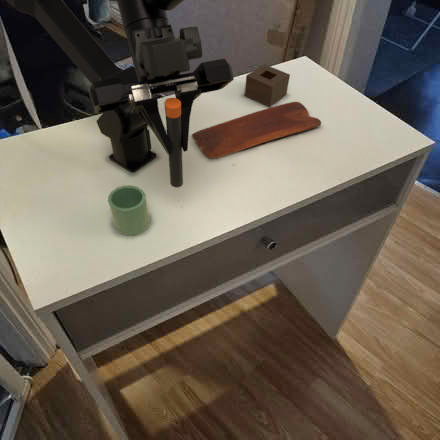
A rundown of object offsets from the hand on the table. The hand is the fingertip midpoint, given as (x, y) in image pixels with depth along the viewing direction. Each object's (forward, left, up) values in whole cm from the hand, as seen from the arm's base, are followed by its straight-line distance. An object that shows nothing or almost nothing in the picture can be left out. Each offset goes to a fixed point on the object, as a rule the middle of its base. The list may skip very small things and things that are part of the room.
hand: (177, 153), depth 55 cm
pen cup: (-6, +5, -12) cm, 15 cm away
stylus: (+1, +2, -7) cm, 7 cm away
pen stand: (+41, +11, -12) cm, 44 cm away
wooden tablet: (+28, +5, -13) cm, 31 cm away
